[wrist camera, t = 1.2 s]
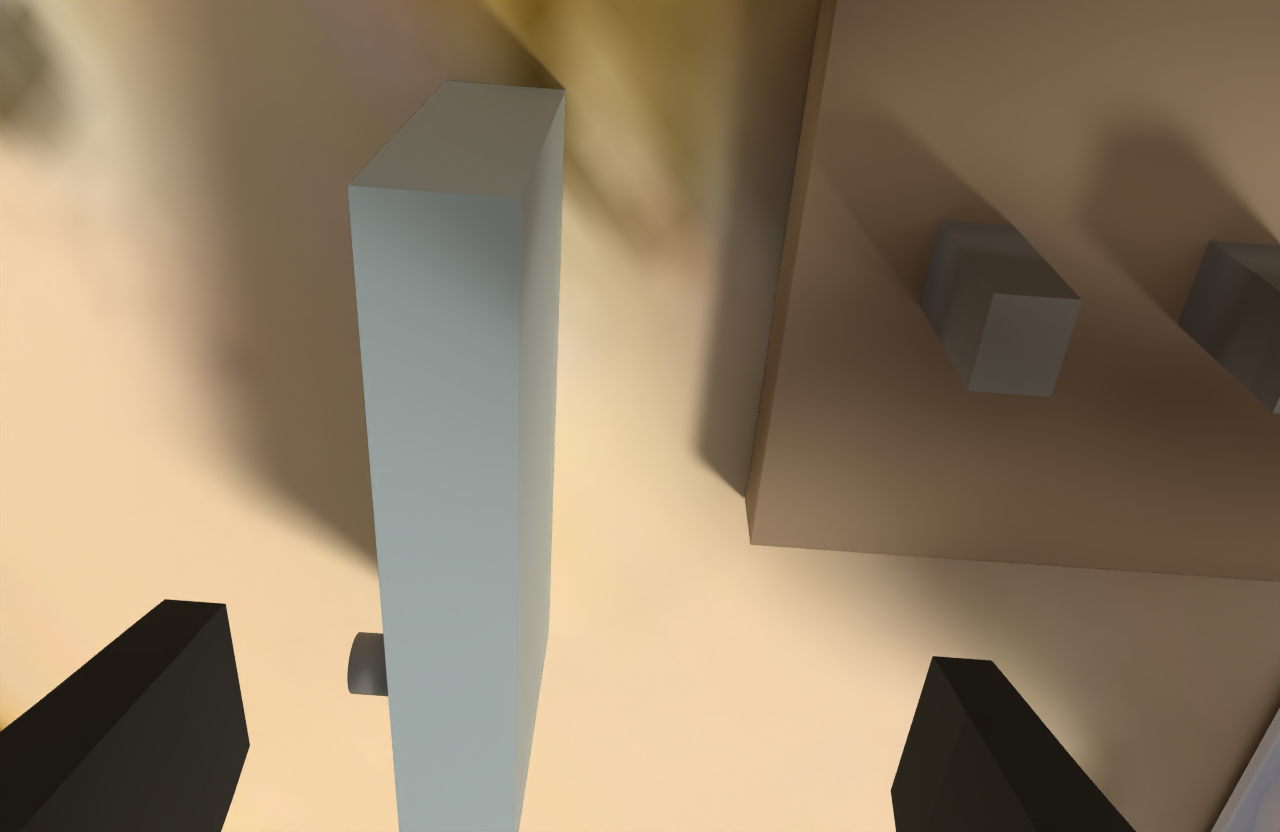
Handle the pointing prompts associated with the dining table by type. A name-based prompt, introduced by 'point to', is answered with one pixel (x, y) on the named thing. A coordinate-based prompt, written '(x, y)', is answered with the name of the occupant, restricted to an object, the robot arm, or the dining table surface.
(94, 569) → the dining table surface
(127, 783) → the robot arm
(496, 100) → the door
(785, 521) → the plinth
